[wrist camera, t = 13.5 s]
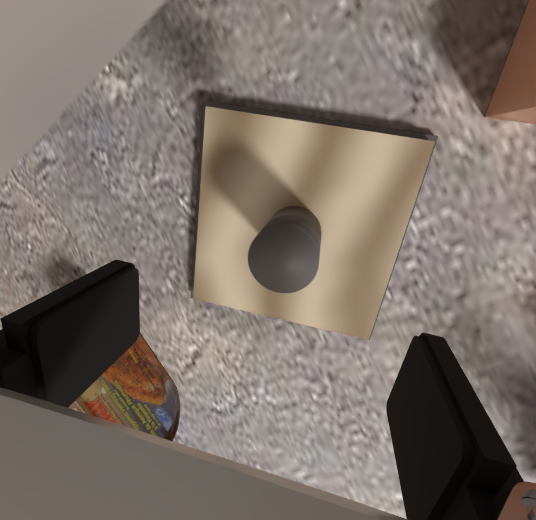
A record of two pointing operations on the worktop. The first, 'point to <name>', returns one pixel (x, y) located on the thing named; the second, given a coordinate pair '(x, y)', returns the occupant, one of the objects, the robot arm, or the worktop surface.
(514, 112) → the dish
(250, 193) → the lid
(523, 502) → the robot arm
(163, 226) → the worktop surface
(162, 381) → the tin
